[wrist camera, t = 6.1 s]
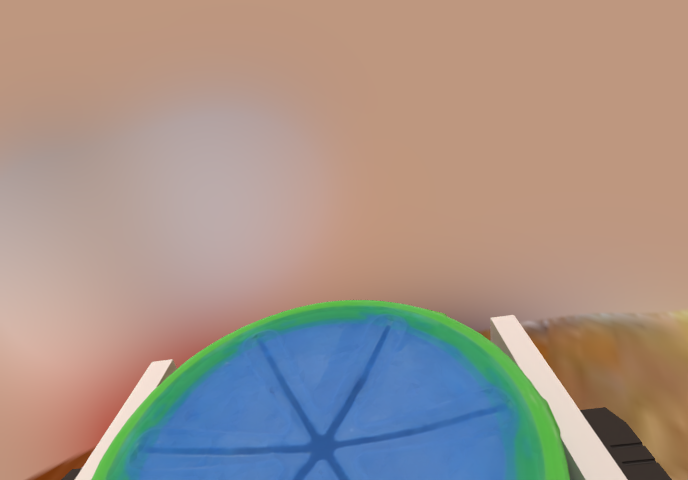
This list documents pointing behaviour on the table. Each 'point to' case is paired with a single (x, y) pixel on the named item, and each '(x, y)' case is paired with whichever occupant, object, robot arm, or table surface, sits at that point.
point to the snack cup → (343, 405)
